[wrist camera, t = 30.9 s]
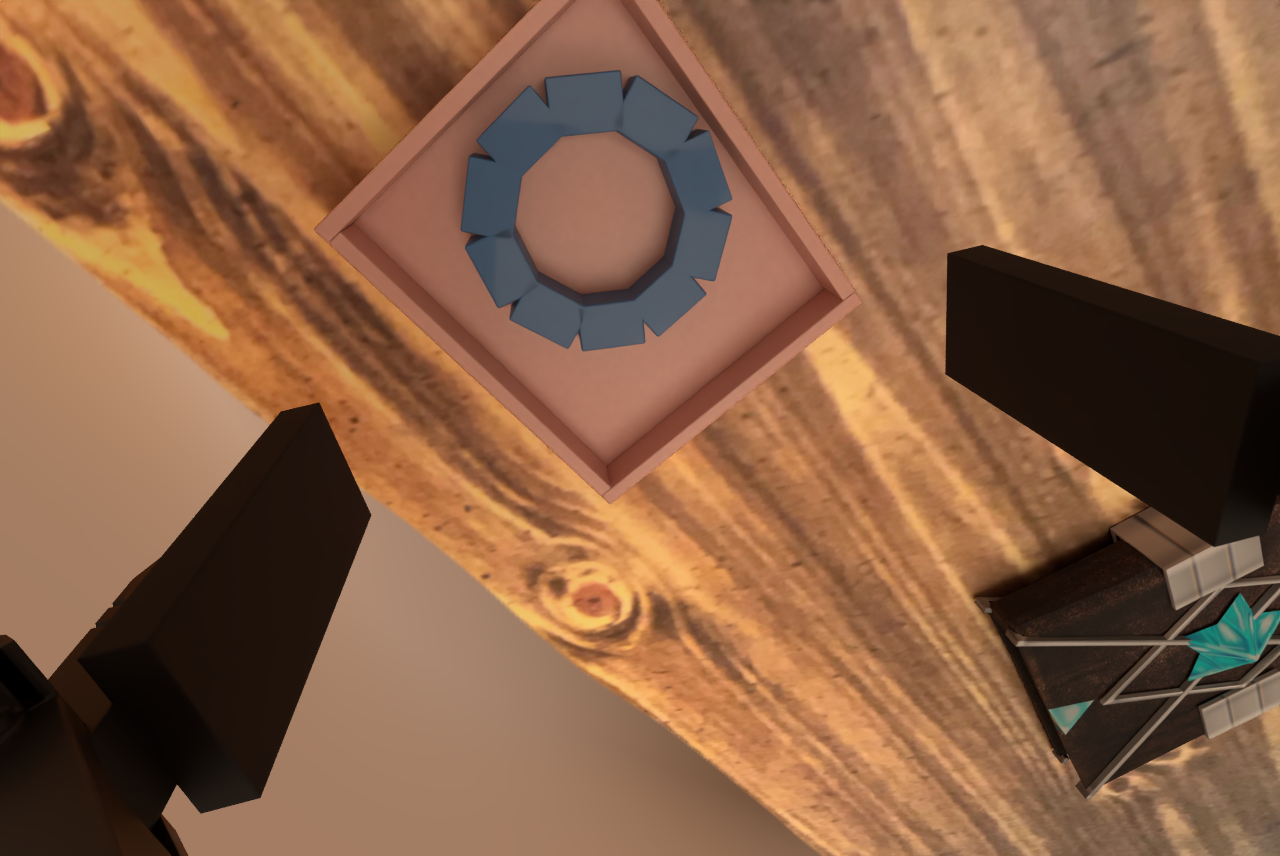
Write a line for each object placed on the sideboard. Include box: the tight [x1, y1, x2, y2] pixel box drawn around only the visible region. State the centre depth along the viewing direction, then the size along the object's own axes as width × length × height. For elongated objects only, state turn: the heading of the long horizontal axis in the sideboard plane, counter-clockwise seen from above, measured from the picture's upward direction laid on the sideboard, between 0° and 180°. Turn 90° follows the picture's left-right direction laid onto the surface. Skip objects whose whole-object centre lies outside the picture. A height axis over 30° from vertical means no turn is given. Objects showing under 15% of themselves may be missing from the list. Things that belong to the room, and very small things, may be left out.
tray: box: [314, 0, 862, 504], centre depth 25 cm, size 15×13×2 cm
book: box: [975, 495, 1280, 800], centre depth 37 cm, size 22×17×5 cm
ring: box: [461, 70, 732, 351], centre depth 24 cm, size 9×10×2 cm
